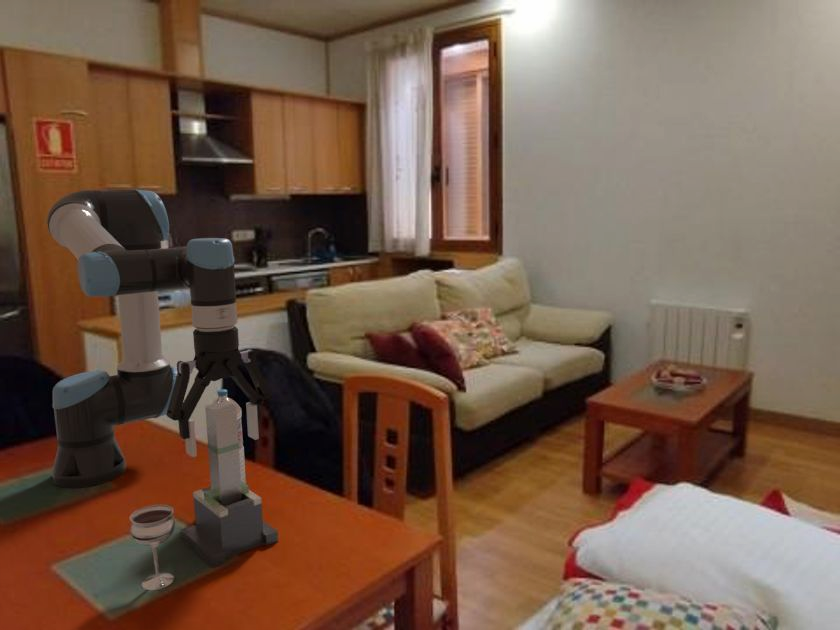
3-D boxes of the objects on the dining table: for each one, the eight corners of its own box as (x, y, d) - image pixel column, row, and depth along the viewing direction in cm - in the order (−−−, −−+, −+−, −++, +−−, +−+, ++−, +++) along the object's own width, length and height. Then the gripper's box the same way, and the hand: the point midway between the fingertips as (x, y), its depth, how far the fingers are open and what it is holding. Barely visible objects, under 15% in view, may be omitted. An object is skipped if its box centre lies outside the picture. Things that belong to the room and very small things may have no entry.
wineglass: (176, 590, 105) (170, 521, 103) (131, 596, 104) (124, 526, 102) (182, 567, 112) (177, 502, 109) (140, 572, 110) (134, 506, 108)
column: (214, 520, 115) (206, 413, 112) (204, 512, 118) (196, 407, 115) (250, 507, 120) (244, 404, 117) (240, 500, 123) (234, 399, 120)
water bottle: (237, 517, 129) (229, 396, 125) (206, 514, 130) (197, 394, 126) (253, 501, 136) (246, 386, 131) (223, 498, 137) (215, 385, 133)
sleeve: (181, 539, 121) (178, 494, 119) (244, 516, 129) (242, 474, 128) (212, 567, 111) (208, 519, 110) (278, 541, 120) (275, 495, 118)
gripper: (155, 340, 103) (166, 470, 107) (285, 321, 118) (291, 434, 122) (138, 333, 108) (149, 457, 112) (265, 315, 124) (271, 425, 128)
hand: (223, 445), depth 117 cm, fingers open, 11 cm apart
